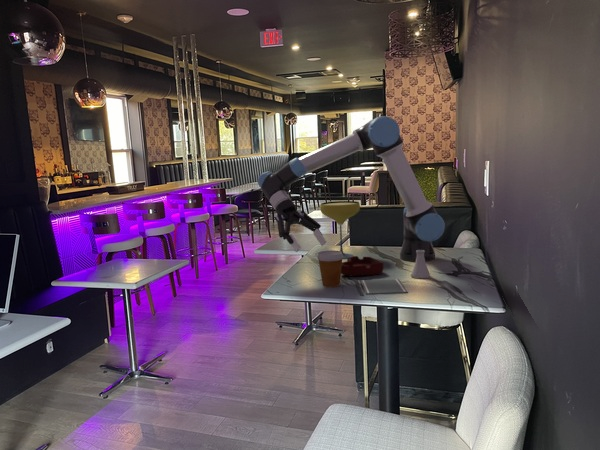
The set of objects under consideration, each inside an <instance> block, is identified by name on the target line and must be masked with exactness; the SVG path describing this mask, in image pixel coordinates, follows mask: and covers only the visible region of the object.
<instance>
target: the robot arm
mask: <svg viewBox="0 0 600 450" xmlns="http://www.w3.org/2000/svg"><path fill="white" fill-rule="evenodd" d="M400 134H401V129H400V126H399V124H398V122H397V121H396V120H395V119H394V118H393V117H390V116H387V115H381V116H377V117H375V118H373V119H371V120H369V121H368V122H366V123H364V125H362V126H361V127H359V128H358V127H357V129H354V130H353V131H352V134H350V135H347V136H345V137H342V138H340V139H338V140H336V141H333V142H332V143H329V144H327V145H325V146H322V147H321V148H318V149H315V150H313V151H312V152H310V153H307V154H304V155H302V156H300V157H294V158H293V159H291V160H290V161H289V162H287V163H285V164H284V165H282V167H281V168H279V169H278V170H276V171H275V172H272V171H266V172H263V173H261V174H260V175H259V176H258V178H257V184H258V186H259V188H260V190H261V191H262V193H263V194H264V196H265V197H266V199H267V200H268V202H269V203H270V205H271V206H272V207H273V209H274V210H275V212H276V214H277V215H276V217H275V221H276V223H277V229H278V230H277V232H278V236H279V238H282V239H283V240H286V241H287V243H288V244H289V245H291V247H292V248H293V250H294V251H295V253H298V252H299V250H301V248H302V247H301V245H300V243H299V242H298V240H297V239H296V238H295V237H294V235H293V233H290V232H291V226H292V225H298V226H299V225H300V226H303V227H304V228H306V229H308V230H310V231H311V232H313V233H312V235H313V236H314V237H315V238H316V240H317V242H318V243H319V244H320V245H321V247H324V245H325V244H326V243H327V240H326V238H325V237H324V235H323V233H322V232H321V230H320V228H322V225H321V224H320V223H319V222H318V221H316V220H315V219H314V218H313V217H311V216H310V215H308V214H307V213H306V211H304V210H301V211H300V212H298V210H297V208H296V207H297V206H296V204H295V203H294V202H293V200H292V199H291V197H290V195H289V194H288V193H287V191H286V190H285V189H287V188H288V187H289V186H290V185H291V184H293V183H295V182H296V181H297V180H298V179H300V178H302V177H303V176H305V175H308V174H309V173H312V172H314V171H316V170H318V169H321V168H323V167H325V166H328V165H330V164H332V163H334V162H337V161H340V160H341V159H344V158H345V157H348V156H350V155H353V154H354V153H357V152H365V151H367V150H370V149H373V151H374V154H375V156H376V157H379V158H380V159H382V161H383V163H384V164H385V167H386V170H387V171H388V173H389V175H390V178H391V180H392V181H393V184H394V186H395V188H396V190H397V192H398V194H399V196H400V198H401V200H402V202H403V204H404V206H405V207H404V208H403V214H402V216H403V242H402V246H401V248H400V252H399V258H400V259H401V260H403V261H409V262H416V258H417V252H416V250H424V251H425V252H424V258H425V262H429V261H433V260H435V259H436V251H435V249H434V246H433V242H434V241H437V240H439V238H441V237H442V235H443V234H444V232H445V227H446V224H445V221H444V219H443V217H442V216H441V215H439V213H438V212H437V210H436V209H435V206H434V204H433V203H432V202H430V201H427V199H426V197H425V194H424V192H423V190H422V187H421V186H420V184H419V182H418V179H417V178H416V176H415V172H414V171H413V168H412V167H411V165H410V162H409V160H408V158H407V156H406V153H405V152H404V150H403V145H404V141H403V139H402V136H401V135H400ZM284 222H285V223H284Z"/></svg>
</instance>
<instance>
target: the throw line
mask: <svg viewBox="0 0 600 450" xmlns="http://www.w3.org/2000/svg"><path fill="white" fill-rule="evenodd" d="M354 283H355V285H356V288H357V291H358V295H359V297H364V293H363V290H362V287H361V285H360V282H359V279H355V280H354Z"/></svg>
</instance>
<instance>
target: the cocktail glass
mask: <svg viewBox="0 0 600 450" xmlns="http://www.w3.org/2000/svg"><path fill="white" fill-rule="evenodd" d="M319 208H320V212H321V213H322V215H324V216H325V217H328V218H329V219H332V220H334V222H336V223H337V224H338V226H339V232H340V233H339V236H340V238H339V239H340V241H339V243H340V248H339V249H340V250H339V251H341V252H342V254H343V259H342V260H347V258H349V257H353V256H354V255H353V254H352V253H344V251H343V249H344V248H343V237H342V235H343V233H342V232H343V231H342V226H343V225H344V223H345V222H346V221H348V220H349V219H350V218H353V217H354V216H356V215H357V214H358V213H359V212H360V210H361V204H360V202H359V201H356V200H355V201H354V200H353V201H352V200H340V201H338V200H337V201H336V200H335V201H326V202H321V203H320V206H319Z"/></svg>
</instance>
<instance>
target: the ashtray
mask: <svg viewBox="0 0 600 450" xmlns="http://www.w3.org/2000/svg"><path fill="white" fill-rule="evenodd" d="M383 272H384V263H383V262H382V261H380V260H379V259H375V258H373V257H371V256H363V257H362V259H360V258H359V256H357V255H353V257H349V258H347V259H346V261H342V267H341V275H343V277H347V278H348V277H355V276H375V275H376V276H377V275H380V274H381V275H382V273H383Z"/></svg>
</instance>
